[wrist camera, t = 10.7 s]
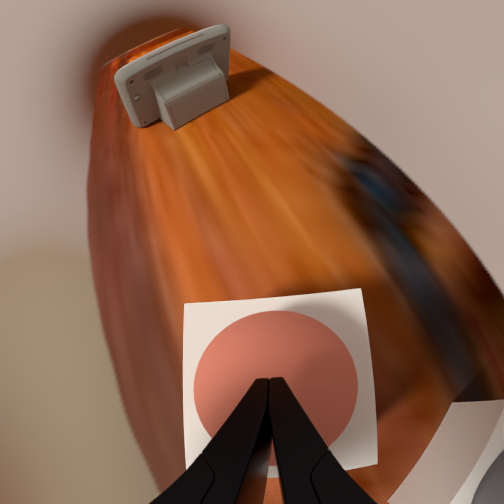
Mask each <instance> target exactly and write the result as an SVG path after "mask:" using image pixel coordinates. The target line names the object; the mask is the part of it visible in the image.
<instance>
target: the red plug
mask: <svg viewBox="0 0 504 504" xmlns="http://www.w3.org/2000/svg"><path fill="white" fill-rule="evenodd" d="M271 377H283V378H284V379H285V381H286V382H287V384H288V386H289V387H290V389H291V390H292V392H293V394H294V395H295V397H296V398H297V400H298V402H299V403H300V405H301V406H302V408H303V409H304V411H305V413H306V414H307V416H308V417H309V419H310V420H311V422H312V423H313V425H314V426H315V428H316V430H317V431H318V433H319V434H320V436H321V437H322V439H323V440H324V442H325V443H326V445H327V446H328V447H329V446H330V445H331V444H332V443H333V442H334V441H335V440H336V439H337V438H338V437H339V436H340V435H341V433H342V432H343V431H344V430H345V428H346V426H347V425H348V423H349V421H350V419H351V417H352V414H353V412H354V409H355V405H356V401H357V394H358V379H357V372H356V368H355V365H354V362H353V359H352V357H351V355H350V353H349V351H348V349H347V347H346V346H345V344H344V343H343V342H342V340H341V339H340V338H339V337H338V336H337V335H336V334H335V333H334V332H333V331H332V330H331V329H330V328H328V327H327V326H325V325H324V324H323V323H321V322H319V321H317V320H315V319H313V318H311V317H309V316H306V315H303V314H300V313H295V312H291V311H265V312H259V313H255V314H252V315H248V316H246V317H243V318H241V319H239V320H237V321H235V322H233V323H232V324H230V325H229V326H227V327H226V328H225V329H223V330H222V331H221V332H220V333H219V334H218V335H217V336H215V338H214V339H213V340H212V341H211V342H210V343H209V345H208V346H207V348H206V349H205V351H204V352H203V354H202V356H201V359H200V361H199V363H198V366H197V369H196V373H195V378H194V390H193V391H194V402H195V406H196V411H197V413H198V416H199V419H200V421H201V423H202V425H203V427H204V428H205V430H206V431H207V433H208V434H209V435H210V437H211V438H213V437H214V435H215V434H216V433H217V431H218V430H219V429H220V427H221V426H222V425H223V423H224V422H225V421H226V419H227V418H228V417H229V415H230V414H231V413H232V411H233V410H234V408H235V407H236V406H237V404H238V403H239V402H240V400H241V399H242V397H243V396H244V395H245V393H246V392H247V390H248V389H249V387H250V386H251V385H252V383H253V382H254V380H255V379H256V378H269V380H270V378H271ZM269 466H277V465H276V458H275V452H274V446H273V439H272V448H271V455H270V462H269Z"/></svg>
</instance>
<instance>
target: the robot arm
mask: <svg viewBox="0 0 504 504" xmlns="http://www.w3.org/2000/svg"><path fill="white" fill-rule="evenodd" d="M272 439H273V446H274V452H275V458H276V465H277V471H278V477H279V483H280V489H281V495H282V501H283V504H377V503H376V502H375V501H374V500H373V499H372V498H371V497H370V496H369V495H368V494H367V493H366V492H365V491H364V490H363V489H362V488H361V487H360V486H359V485H358V484H357V483H356V482H355V481H354V480H353V479H352V478H351V477H350V476H349V475H348V473H347V472H346V471H345V470H344V469H343V467H342V466H341V465H340V463H339V462H338V461H337V459H336V458H335V456H334V455H333V453H332V452H331V450H329V448H328V446H327V445H326V443H325V442H324V440H323V439H322V437H321V436H320V434H319V433H318V431H317V430H316V428H315V426H314V425H313V423H312V422H311V420H310V419H309V417H308V416H307V414H306V413H305V411H304V409H303V408H302V406H301V405H300V403H299V402H298V400H297V398H296V397H295V395H294V394H293V392H292V390H291V389H290V387H289V386H288V384H287V382H286V381H285V379H284V378H283V377H271V378H270V380H269V378H256V379H255V380H254V382H253V383H252V385H251V386H250V387H249V389H248V390H247V392H246V393H245V395H244V396H243V397H242V399H241V400H240V402H239V403H238V404H237V406H236V407H235V408H234V410H233V411H232V413H231V414H230V415H229V417H228V418H227V419H226V421H225V422H224V423H223V425H222V426H221V427H220V429H219V430H218V431H217V433H216V434H215V435H214V437H213V438H212V439H211V440H210V442H209V443H208V444H207V446H206V447H205V448H204V449H203V451H202V453H200V454H199V455H198V457H197V458H196V459H195V461H194V462H193V463H192V464H191V465H190V466H189V467H188V469H187V470H186V471H185V472H184V473H183V474H182V475H181V476H180V477H179V478H178V479H177V480H176V481H175V482H174V483H173V484H171V485H170V486H169V487H168V488H167V489H166V490H165V491H163V492H162V493H161V494H160V495H159V496H158V497H156V498H155V499H154V500H153V501H152V502H150V503H149V504H263V500H264V494H265V488H266V482H267V475H268V469H269V462H270V455H271V448H272Z"/></svg>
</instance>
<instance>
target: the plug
mask: <svg viewBox="0 0 504 504" xmlns="http://www.w3.org/2000/svg"><path fill="white" fill-rule="evenodd" d="M471 504H504V450H503V451H502V452H501V453H500V454H499V456H498V457H497V458H496V459H495V460H494V462H493V463H492V464H491V466H490V467H489V468H488V470H487V471H486V473H485V475H484V476H483V478H482V480H481V481H480V483H479V485H478V487H477V489H476V492H475V494H474V496H473V499H472V502H471Z"/></svg>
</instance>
